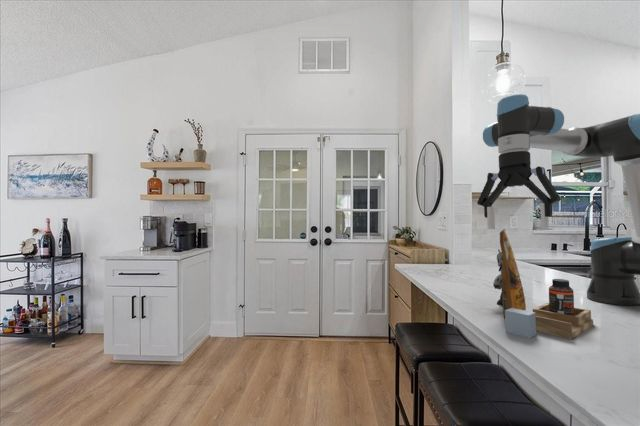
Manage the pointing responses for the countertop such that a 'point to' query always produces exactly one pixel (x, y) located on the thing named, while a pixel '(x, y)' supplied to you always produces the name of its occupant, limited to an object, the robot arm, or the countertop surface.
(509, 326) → the wing block
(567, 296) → the supplement bottle
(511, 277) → the pancake mix bag
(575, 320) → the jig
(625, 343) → the countertop surface
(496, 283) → the robot
